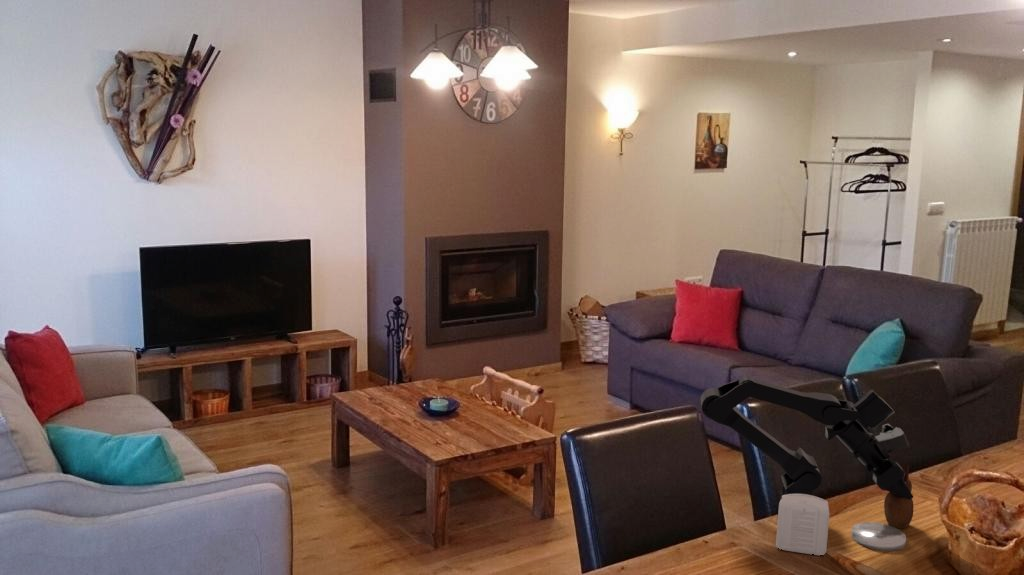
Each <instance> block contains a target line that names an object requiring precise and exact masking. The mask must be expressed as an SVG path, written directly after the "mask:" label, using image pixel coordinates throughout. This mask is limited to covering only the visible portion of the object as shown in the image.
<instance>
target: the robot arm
mask: <svg viewBox="0 0 1024 575" xmlns="http://www.w3.org/2000/svg"><path fill="white" fill-rule="evenodd" d="M749 398H753V399H754V400H755V399H756V400H759V401H763V402H766V403H770V404H773V405H776V406H781V407H784V408H788V409H791V410H794V411H798V412H800V413H802V414H804V415H806V416H807V417H809V418H811V419H813V420H814V421H817V422H819V423H821V424H823V425H825V427H824V428H825V433H824V436H825V437H826V440H828V441H831V440H832V439H834V438H836V437H837V438H838V440H840V442H841V443H842V444H843V445H844V446H845V447H846V448H847V449H848V450H849V451H850V452H851V454H852V455H853V456H854V458H856V459H858V460H859V461H860V462H861V464H862V465H864V466H863V467H864V468H865V469H866V470H867V471H868V472H869V473H870V472H871V471H873V473H872V480H873V481H874V483H875V484H876V486H877V487H878V488H879V489H880V490H881V491H887V492H888V493H889V492H892V493H894V494H897V495H899V496H902V497H904V498H906V499H909V500H911V499H912V500H913V498H914V495H913V493H912V491H911V492H910V490H909V489H908V487H907V486H906V484H905V482H904V481H903V477H904V475H905V472H904V470H903V469H902V466H901V465H900V464H899V463H898V462H897V461H896V460H890V459H891V456H892V454H891V453H892V452H895V451H899V450H901V449H906V448H909V446H910V444H909V441H908V438H907V437H906V435H905V434H906V433H905V432H904V430H902V429H901V427H898V426H896V427H895V428H894V427H893V426H892V425H891V424H890V423H886V424H883V425H882V426H881V432H879V435H874V434H873V433H872V432H870V431H869V432H868V430H867V429H866V428H869V427H870V429H872V428H874V429H876V428H878V426H879V425H881V424H882V423H883V422H885V421H886V420H887V419H888V418H889V417H890V416H892V415H894V414H895V410H894V409H893V408H892V407H891V406H890V405H889V404H888V402H886V401H885V400H884V399H883V398H882V396H879V394H878V393H876V392H875V391H874V389H870V390H869V391H868V392H866V394H865V395H864V396H862V397H861V398H860V399H859V400H858V401H857V402H855V403H853V402H852V401H849V400H843V399H839V398H837V397H836V396H835V395H833V394H830V393H826V392H825V393H823V392H814V391H813V392H803V391H799V390H795V389H792V388H787V387H785V386H782V385H781V386H780V385H777V384H773V383H770V382H768V381H763V380H759V379H757V378H753V377H752V376H749V375H745V376H742V377H739V378H738V379H736V380H733V381H731V382H727V383H724V384H722V385H720V386H718V387H709V388H708V389H705V390H704V391H703V392H702V394H701V396H700V404H701V410H702V413H703V415H704V416H705V417H706V418H707V419H710V420H711V421H712V422H715V423H717V424H719V425H721V426H725V427H727V428H729V429H732V430H733V432H736V433H737V434H738V435H740V436H741V437H742V438H743V439H744V440H746V441H747V442H748V443H750V444H751V445H753V446H754V447H755V448H757V449H758V450H759V451H761V452H762V453H763V454H764V455H766V456H767V457H769V459H771V460H772V461H774V462H775V463H776V464H778V466H780V468H782V470H783V471H784V473H783V474H781V480H782V484H783V487H782V488H781V494H780V500H781V499H782V495H787V494H807V495H812V496H813V492H814V490H816V489H818V488H819V486H820V485H821V483H822V474H821V472H820V470H819V468H818V464H817V462H816V460H815V458H814V456H812V455H809V454H808V453H806V452H805V451H804V450H803V449H802V448H801V447H798V448H797V450H796V451H795V450H793V449H792V450H791V449H789V448H788V447H786V446H785V445H784V444H782V443H781V442H780V441H778V439H776V438H775V437H774V436H772V435H771V434H769V433H768V432H767V431H766V430H764V428H761V427H760V426H759V425H757V424H756V423H755V422H753V420H751V419H750V418H748V417H747V416H746V415H745V414H743V413H742V412H741V411H740V410H739V409H738V408H737V406H738V405H740V404H741V403H742V402H744V401H745V400H748V399H749ZM858 419H859V420H860V421H861V423H863V424H864V425H865V427H866V428H865V427H864V426H863V425H862V424H861V423H860V422H859V421H858Z"/></svg>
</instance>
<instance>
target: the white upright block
mask: <svg viewBox="0 0 1024 575" xmlns="http://www.w3.org/2000/svg"><path fill="white" fill-rule="evenodd" d="M829 522H830V507H829V502H828V500H826V499H824V498H821V497H818V496H816V495H813V494H812V495H807V494H787V495H782V499H781V498H780V501H779V502H778V513H777V524H776V525H777V526H776V538H775V540H776V541H775V547H776V548H777V549H778V548H779V549H778V550H781V549H782V550H783V551H787V552H793V553H801V554H806V555H812V554H814V556H820V555H824V554H825V553H827V548H828V546H827V545H828V536H829V526H830V525H829V524H830V523H829ZM782 550H781V551H782ZM825 555H826V554H825ZM825 555H824V556H825Z"/></svg>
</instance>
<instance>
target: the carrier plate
mask: <svg viewBox="0 0 1024 575" xmlns="http://www.w3.org/2000/svg"><path fill="white" fill-rule="evenodd" d="M851 538H852V540H854V542H856V543H857V544H859V545H861V546H863V547H865V548H868V549H872V550H875V551H883V552H894V551H900V550H902V549H904V548H905V547H906V545H907V535H906V533H905V532H904V531H902V530H900V528H897V527H893V526H891V525H890V524H886V523H881V522H880V523H879V522H873V521H872V522H871V521H868V522H866V521H865V522H859V523H856V524H854V525H853V526H852V528H851Z"/></svg>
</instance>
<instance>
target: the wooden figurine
mask: <svg viewBox="0 0 1024 575" xmlns="http://www.w3.org/2000/svg"><path fill="white" fill-rule="evenodd" d="M901 468H902V469H903V470H904V472H905V475H904V477H903V481H904V482H905V484H906V486H907V487H908V489H909V490H910V492H911V493H912V490H913V485H912V484H913V483H912V481H911V479H909V476H910V474H909V471H910V465H909V464H907V466H906V468H905V464H902V466H901ZM883 501H884V502H883V510H884V511H883V512H884V516H885V521H886V522H887V523H888V525H889V526H892V527H895V528H897V529H905V528H907V527H908V526H909V525H910V524H911V521H912V520H913V516H914V501H913V498H912V499H911V500H909V499H906V498H904V497H902V496H899V495H897V494H894V493H892V492H889V491H888V492H887V494H886V495H885V498H884V500H883Z"/></svg>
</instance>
